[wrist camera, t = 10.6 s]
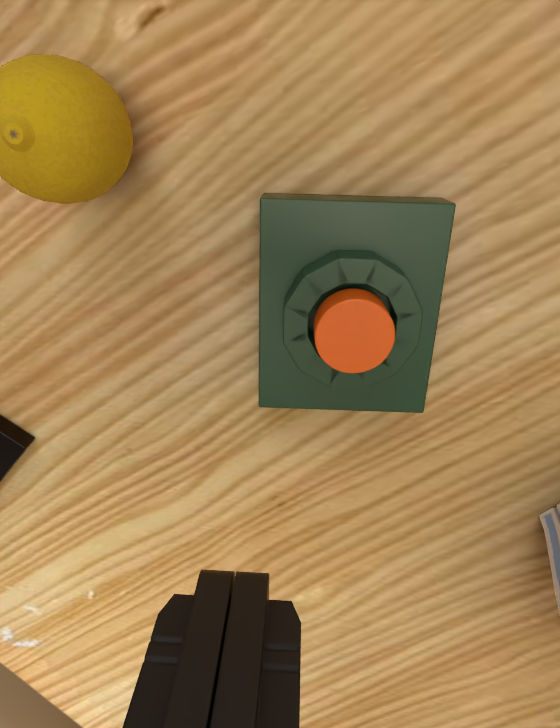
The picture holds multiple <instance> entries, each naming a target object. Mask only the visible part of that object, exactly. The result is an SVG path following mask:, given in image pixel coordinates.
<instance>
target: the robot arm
mask: <svg viewBox="0 0 560 728" xmlns="http://www.w3.org/2000/svg"><path fill="white" fill-rule="evenodd" d="M300 648H301V622H300V619H299V617H298V615H297V612H296V610H295V608H294V606H293V603H292V601H280V600H269V573H253V572H236V576H235V572H234V571H217V570H201V572H200V574H199V578H198V582H197V586H196V590H195V594H194V595H181V594H174V595H173V596H172V598H171V599H170V600H169V601H168V603H167V604H166V605H165V606H164V608H163V609H162V610H161V611H160V613H159V614H158V617H157V620H156V623H155V626H154V629H153V633H152V636H151V641H150V642H149V645H148V648H147V652H146V655H145V660H144V663H143V664H142V668H141V671H140V674H139V677H138V680H137V683H136V687H135V690H134V693H133V696H132V699H131V702H130V706H129V709H128V712H127V715H126V718H125V722H124V725H123V728H299V712H300Z"/></svg>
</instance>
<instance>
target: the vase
mask: <svg viewBox="0 0 560 728" xmlns="http://www.w3.org/2000/svg"><path fill="white" fill-rule="evenodd" d="M556 506H557V507H555V508H553V507H552V508H550V509H549V510H547V511H545V512H544V513H542V514H540V515H539V517H540V520H541V523H542V526H543V529H544V532H545V538H546V543H547V549H548V554H549V560H550V566H551V572H552V578H553V584H554V590H555V595H556V600H557V605H558V610H559V615H560V503H559V504H557V505H556Z"/></svg>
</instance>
